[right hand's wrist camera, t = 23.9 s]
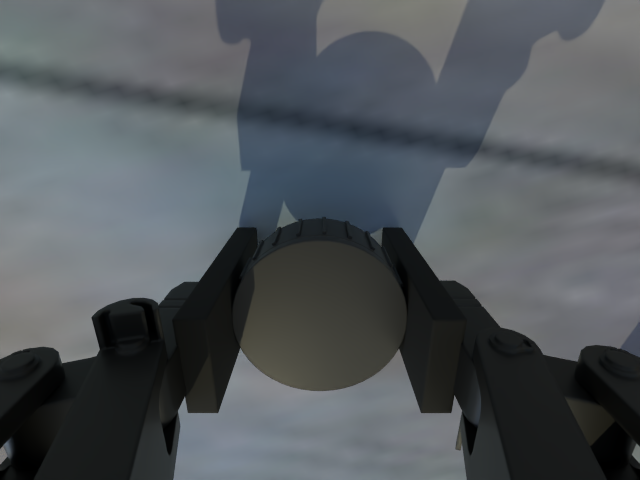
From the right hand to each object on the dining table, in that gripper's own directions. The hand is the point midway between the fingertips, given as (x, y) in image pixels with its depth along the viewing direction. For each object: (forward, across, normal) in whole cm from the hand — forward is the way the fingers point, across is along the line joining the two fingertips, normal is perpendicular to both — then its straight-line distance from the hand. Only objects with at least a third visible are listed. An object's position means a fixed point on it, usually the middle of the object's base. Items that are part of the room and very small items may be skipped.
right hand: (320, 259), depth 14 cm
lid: (-4, 0, 0) cm, 4 cm away
